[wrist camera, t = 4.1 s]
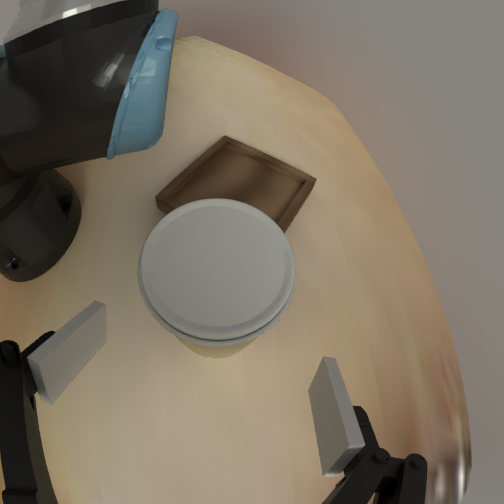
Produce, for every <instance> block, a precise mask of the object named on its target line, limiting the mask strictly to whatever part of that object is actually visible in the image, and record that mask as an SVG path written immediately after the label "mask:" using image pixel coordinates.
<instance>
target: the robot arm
mask: <svg viewBox="0 0 504 504" xmlns="http://www.w3.org/2000/svg"><path fill="white" fill-rule="evenodd" d="M19 3H20V11H19V14H18V16H17V18H16V19H15V21H14V23H13V24H12V26H11V27H10V29H9V30H8V32H7V34H6V36H5V37H4V39H3V44H4V46H3V45H0V273H1V274H2V275H3V276H4V277H6V278H7V279H9V280H12V281H16V282H24V281H28V280H32V279H34V278H36V277H38V276H40V275H42V274H43V273H45V272H46V271H48V270H49V269H50V268H51V267H52V266H53V265H55V264H56V262H57V261H58V260H59V259H60V258H61V257H62V256H63V254H64V253H65V252H66V250H67V249H68V247H69V246H70V244H71V242H72V240H73V238H74V236H75V234H76V231H77V229H78V225H79V221H80V214H81V208H80V202H79V199H78V197H77V195H76V193H75V191H74V189H73V187H72V185H71V184H70V182H69V181H68V180H67V179H66V178H64V177H63V176H62V175H61V174H60V173H59V172H58V171H56V170H55V169H54V168H57V167H61V166H65V165H69V164H74V163H78V162H83V161H88V160H93V159H98V158H103V157H107V159H108V160H109V159H113V158H114V156H116V155H121V154H126V153H131V152H136V151H141V150H145V149H148V148H150V147H152V146H153V145H154V144H155V143H157V141H158V140H159V139H160V137H161V135H162V133H163V128H164V119H165V109H166V99H167V90H168V81H169V72H170V65H171V58H172V51H173V45H174V38H175V32H176V26H177V21H178V14H177V12H176V11H174V10H169V9H168V8H164V9H161V10H160V11H159V9H158V0H19ZM106 341H107V339H106V304H103V303H100V302H98V301H94V302H93V303H92V304H90V305H89V306H88V307H87V308H85V309H84V310H83V311H82V312H80V313H79V314H78V315H77V316H75V317H74V318H73V319H72V320H70V321H69V322H68V323H67V324H66V325H64V326H63V327H62V328H61V329H60V330H58V331H57V332H54V331H50V332H47V333H44V334H43V335H42V336H41V337H39V339H37V340H36V341H35V342H34V343H32V344H31V345H30V346H28V347H27V348H26V349H25V350H24V351H23V352H21V353H20V349H19V345H18V344H17V343H16V342H14V341H11V340H5V341H2V342H0V454H1V462H2V469H3V475H4V481H5V487H6V488H5V490H4V491H2V499H3V503H4V504H58V502H57V499H56V496H55V493H54V490H53V487H52V483H51V480H50V476H49V473H48V469H47V465H46V461H45V457H44V452H43V447H42V442H41V437H40V431H39V425H38V417H37V409H36V400H35V396H34V394H35V393H36V392H37V391H38V393H39V396H40V399H42V400H43V401H45V402H47V403H48V404H50V405H52V404H53V403H54V402H55V400H56V399H57V398H58V397H59V396H60V394H61V393H62V392H63V391H64V390H65V388H66V387H67V386H68V385H69V384H70V383H71V381H72V380H73V379H74V378H75V377H76V375H77V374H78V373H79V372H80V371H81V370H82V369H83V367H84V366H85V365H86V364H87V363H88V362H89V360H90V359H91V358H92V357H93V356H94V355H95V354H96V353H97V351H98V350H99V349H100V348H101V347H102V346H103V345H104V344H105V342H106ZM308 393H309V398H310V404H311V409H312V415H313V420H314V426H315V431H316V437H317V443H318V449H319V455H320V461H321V467H322V473H323V476H338V475H339V474H340V473H341V472H342V471H344V475H345V476H344V477H343V479H342V480H341V481H340V482H339V483H338V484H337V485H335V486H336V487H335V489H334V490H333V491H332V492H331V493H330V495H329V496H328V497H327V498H326V499H325V501H324V502H323V503H322V504H367V503H368V501H369V500H370V498H371V497H372V495H373V493H374V492H375V497H374V500H373V504H424V502H425V492H426V481H427V461H426V460H425V458H424V457H423V456H421V455H419V454H410V455H408V456H407V457H406V458H405V459H400V458H393V457H391V456H390V454H389V453H388V452H387V451H386V450H385V449H383V448H380V447H379V445H378V442H377V440H376V437H375V434H374V431H373V429H372V427H371V424H370V421H369V418H368V416H367V413H366V412H365V411H364V410H363V408H362V407H361V406H352V404H351V401H350V398H349V395H348V392H347V389H346V387H345V384H344V381H343V378H342V376H341V373H340V370H339V367H338V365H337V362H336V359H335V358H330V357H323V358H322V360H321V363H320V365H319V367H318V370H317V372H316V374H315V376H314V378H313V381H312V383H311V385H310V387H309V389H308Z"/></svg>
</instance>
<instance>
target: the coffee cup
mask: <svg viewBox="0 0 504 504" xmlns="http://www.w3.org/2000/svg"><path fill="white" fill-rule="evenodd" d="M296 279H297V269H296V262H295V257H294V254H293V251H292V248H291V246H290V244H289V241H288V239H287V237H286V236H285V234H284V233H283V231H282V230H281V228H280V227H279V226H278V225H277V224H276V223H275V222H274V221H273V220H272V219H271V218H270V217H269V216H267V215H266V214H265V213H263V212H262V211H260V210H259V209H257V208H255V207H253V206H250V205H248V204H246V203H243V202H239V201H235V200H231V199H221V198H212V199H202V200H198V201H194V202H190V203H187V204H185V205H183V206H180V207H178V208H176V209H174V210H173V211H171V212H170V213H168V214H167V215H166V216H165V217H163V218H162V219H161V220H160V221H159V222H158V223H157V224H156V226H155V227H154V228H153V229H152V231H151V232H150V234H149V235H148V237H147V239H146V241H145V244H144V246H143V248H142V251H141V253H140V258H139V263H138V282H139V287H140V291H141V294H142V297H143V300H144V302H145V304H146V306H147V308H148V309H149V311H150V312H151V314H152V315H153V316H154V318H155V319H156V320H157V321H158V322H159V323H160V324H161V325H162V326H163V327H165V328H166V329H167V330H168V331H170V332H171V333H173V334H174V335H175V336H176V337H177V338H178V339H179V340H180V341H181V342H182V343H183V344H184V345H185V346H187V347H188V348H189V349H190V350H192V351H193V352H195V353H197V354H199V355H201V356H204V357H208V358H224V357H228V356H231V355H234V354H236V353H238V352H239V351H241V350H242V349H244V348H245V347H246V346H247V345H249V344H250V343H251V342H252V341H254V340H255V339H256V338H257V337H258V336H260V335H261V334H263V333H265V332H266V331H267V330H268V329H270V328H271V327H272V326H273V325H274V324H275V323H276V322H277V321H278V320H279V319H280V318H281V317H282V315H283V314H284V313H285V311H286V310H287V308H288V306H289V304H290V302H291V300H292V297H293V294H294V291H295V286H296Z"/></svg>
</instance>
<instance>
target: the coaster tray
mask: <svg viewBox="0 0 504 504" xmlns="http://www.w3.org/2000/svg"><path fill="white" fill-rule="evenodd" d="M316 180H317V179H316V178H314V177H312V176H310V175H308V174H306V173H304V172H302V171H300V170H298V169H296V168H294V167H292V166H290V165H288V164H286V163H284V162H282V161H280V160H278V159H276V158H274V157H272V156H270V155H268V154H266V153H263V152H261V151H259V150H257V149H255V148H252V147H250V146H248V145H246V144H243V143H241V142H239V141H237V140H234V139H232V138H230V137H227V136H224V137H222V138H221V139H220V140H219V141H218V142H216V143H215V144H214V145H213V146H211V147H210V148H209V149H208V150H207V151H206V152H204V153H203V154H202V155H201V156H200V157H198V158H197V159H196V160H195V161H194V162H193V163H192V164H190V165H189V166H188V167H187V168H186V169H185V170H184V171H183V172H181V173H180V174H179V175H178V176H177V177H176V178H175V179H174V180H173V181H172V182H170V183H169V184H168V185H167V186H166V187H165V188H164V189H163V190H162V191H161V192H160V193H159V194H158V195H157V196H156V197H155V198H156V202H157V207H158V208H159V209H160V210H162V211H164V212H165V213H167V214H168V213H170V212H171V211H173V210H174V209H176V208H178V207H180V206H183V205H185V204H187V203H190V202H194V201H198V200H202V199H212V198H221V199H231V200H235V201H239V202H243V203H246V204H248V205H250V206H253V207H255V208H257V209H259V210H260V211H262V212H263V213H265V214H266V215H267V216H269V217H270V218H271V219H272V220H273V221H274V222H275V223H276V224H277V225H278V226H279V227H280V228H281V230H282V231H283V233H285V232H286V230H287V228H288V227H289V225H290V224H291V222H292V221H293V219H294V217H295V216H296V214H297V213H298V211H299V210H300V208H301V207H302V205H303V203H304V202H305V200H306V199H307V197H308V195H309V194H310V192H311V191H312V189H313V187H314V184H315V182H316Z"/></svg>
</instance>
